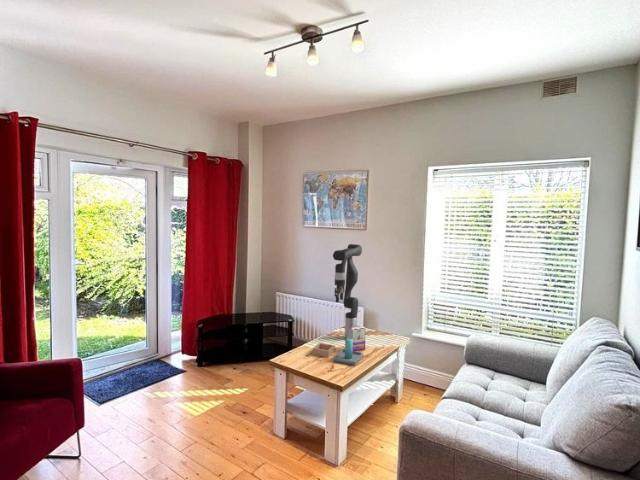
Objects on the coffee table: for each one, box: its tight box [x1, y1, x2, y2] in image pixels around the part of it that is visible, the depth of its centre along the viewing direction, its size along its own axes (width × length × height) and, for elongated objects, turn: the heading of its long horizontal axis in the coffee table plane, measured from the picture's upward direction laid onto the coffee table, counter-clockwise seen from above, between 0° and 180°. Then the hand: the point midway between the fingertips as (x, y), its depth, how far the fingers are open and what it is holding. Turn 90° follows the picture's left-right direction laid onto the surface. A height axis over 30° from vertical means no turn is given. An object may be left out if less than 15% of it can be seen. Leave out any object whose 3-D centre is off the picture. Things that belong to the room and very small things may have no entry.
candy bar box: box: [349, 325, 366, 352], centre depth 248 cm, size 11×5×16 cm, turn 112°
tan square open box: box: [312, 342, 336, 358], centre depth 241 cm, size 12×12×4 cm
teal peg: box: [344, 338, 353, 359], centre depth 231 cm, size 5×5×12 cm
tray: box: [332, 348, 364, 367], centre depth 231 cm, size 18×15×2 cm
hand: (339, 300), depth 245 cm, fingers open, 8 cm apart
